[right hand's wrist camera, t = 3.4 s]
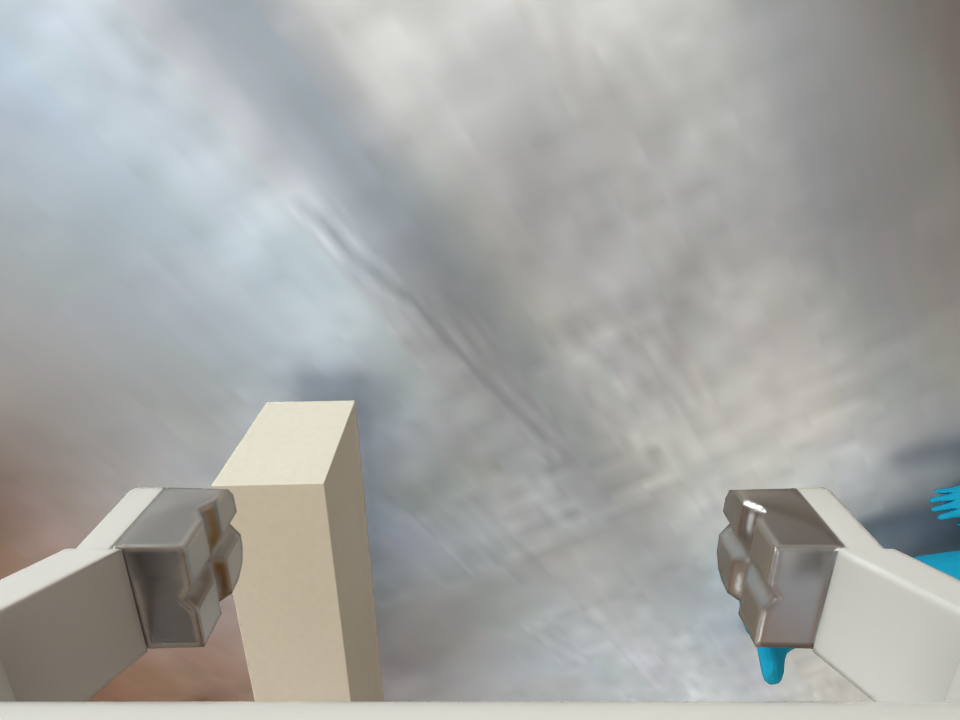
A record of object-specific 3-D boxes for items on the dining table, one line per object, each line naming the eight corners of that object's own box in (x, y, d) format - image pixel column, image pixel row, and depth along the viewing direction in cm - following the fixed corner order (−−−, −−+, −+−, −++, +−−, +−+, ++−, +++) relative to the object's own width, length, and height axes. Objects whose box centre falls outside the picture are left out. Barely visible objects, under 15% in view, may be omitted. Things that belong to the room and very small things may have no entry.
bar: (266, 401, 36) (210, 485, 28) (355, 400, 36) (323, 483, 28) (319, 746, 46) (290, 876, 38) (388, 744, 46) (372, 874, 38)
